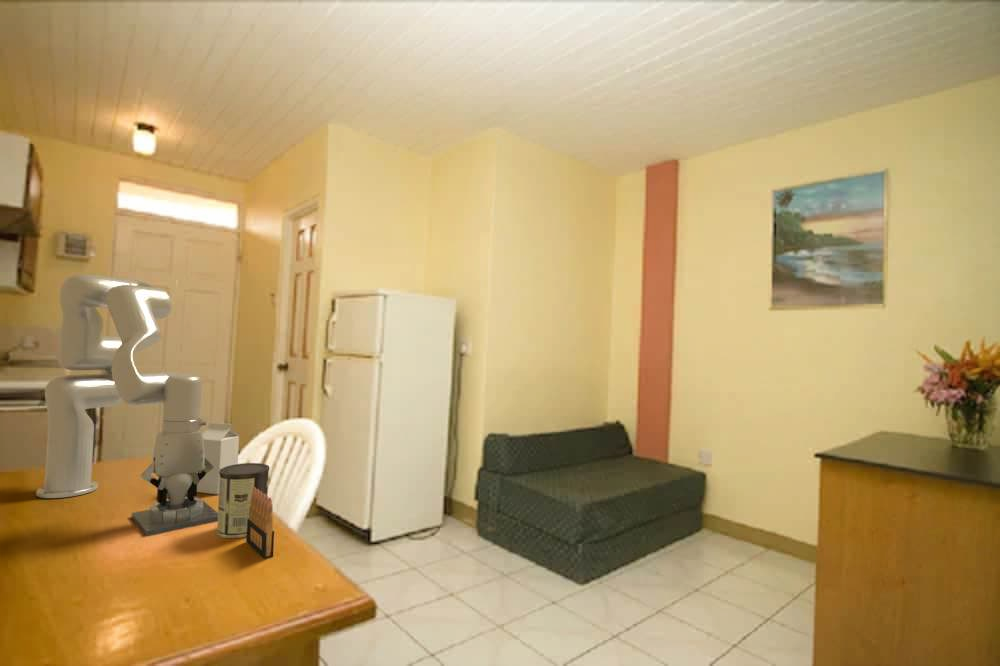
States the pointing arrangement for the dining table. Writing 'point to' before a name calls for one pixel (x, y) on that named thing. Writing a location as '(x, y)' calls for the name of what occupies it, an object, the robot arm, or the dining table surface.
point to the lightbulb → (178, 489)
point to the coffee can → (238, 496)
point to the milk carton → (218, 454)
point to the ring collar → (174, 516)
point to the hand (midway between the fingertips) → (176, 501)
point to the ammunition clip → (260, 524)
